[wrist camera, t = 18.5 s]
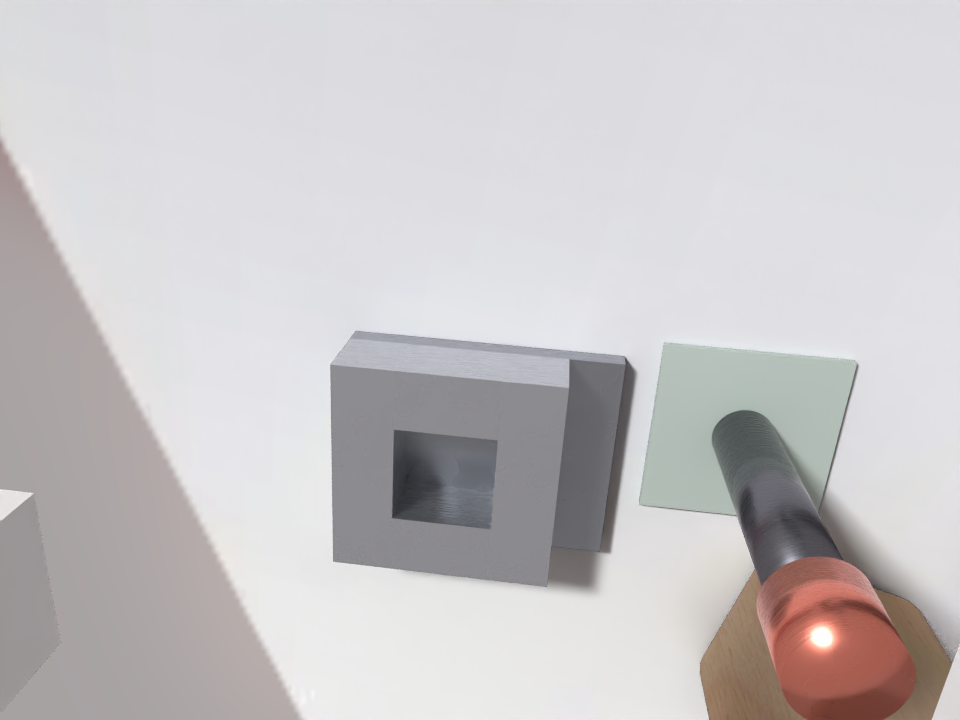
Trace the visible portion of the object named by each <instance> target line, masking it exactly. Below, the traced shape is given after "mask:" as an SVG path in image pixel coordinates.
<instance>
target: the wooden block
mask: <svg viewBox="0 0 960 720" xmlns="http://www.w3.org/2000/svg"><path fill="white" fill-rule="evenodd" d="M761 587H762V586H761V584H760V581H759V578H758V575H757V572H756V569H755V570H754V572H753V573H752V575H751V577H750V578H749V580H748V582H747V583H746V585H745V587H744V588H743V590H742V592H741V593H740V595H739V597H738V598H737V600H736V602H735V604H734V605H733V607H732V609H731V610H730V612H729V614H728V615H727V617H726V619H725V620H724V622H723V624H722V625H721V627H720V629H719V630H718V632H717V634H716V635H715V637H714V639H713V641H712V642H711V644H710V646H709V647H708V649H707V651H706V652H705V654H704V656H703V658H702V660H701V663H700V676H701V681H702V686H703V691H704V696H705V701H706V706H707V711H708V716H709V720H807V719H805V718H803V717H802V716H800V715H799V714H798V713H797V712H795V711H794V710H793V709H792V708H791V706H790V705H789V704H788V702H787V701H786V699H785V697H784V694H783V691H782V688H781V685H780V682H779V679H778V676H777V673H776V670H775V667H774V664H773V661H772V657H771V654H770V651H769V648H768V645H767V642H766V639H765V636H764V633H763V630H762V627H761V624H760V620H759V617H758V614H757V605H756V603H757V597H758V594H759V591H760V589H761ZM873 589H874V590H875V592H876V594H877V596H878V598H879V599H880V601H881V603H882V605H883V607H884V609H885V610H886V612H887V614H888V616H889V618H890V619H891V621H892V623H893V625H894V627H895V628H896V630H897V632H898V634H899V636H900V638H901V639H902V641H903V643H904V645H905V647H906V648H907V650H908V652H909V654H910V656H911V658H912V660H913V662H914V665H915V668H916V682H915V686H914V689H913V691H912V694H911V696H910V697H909V699H908V700H907V701H906V703H905V704H904V705H903V706H902V707H901V708H900V709H899V710H898V711H896V712H895V713H894V714H892V715H891V716H889V717H887V718H885V719H884V720H932V718H933V715H934V712H935V709H936V707H937V704H938V701H939V699H940V696H941V693H942V690H943V688H944V685H945V682H946V680H947V677H948V674H949V671H950V669H951V666H952V663H951V661H950V659H949V658H948V656H947V654H946V653H945V651H944V649H943V648H942V646H941V645H940V643H939V641H938V640H937V638H936V636H935V635H934V633H933V631H932V630H931V628H930V626H929V625H928V623H927V622H926V620H925V618H924V617H923V615H922V613H921V612H920V610H919V609H918V608H916V607H915V606H914V605H913V604H912V603H911V602H909V601H907V600H905V599H904V598H901V597H898V596H895V595H892V594H889V593H887V592H884V591H881V590H878V589H875V588H873Z"/></svg>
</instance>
